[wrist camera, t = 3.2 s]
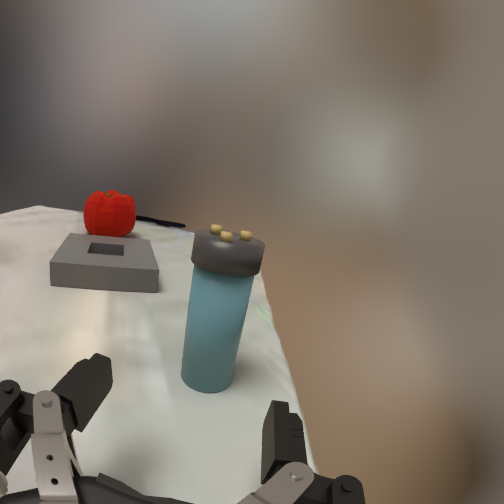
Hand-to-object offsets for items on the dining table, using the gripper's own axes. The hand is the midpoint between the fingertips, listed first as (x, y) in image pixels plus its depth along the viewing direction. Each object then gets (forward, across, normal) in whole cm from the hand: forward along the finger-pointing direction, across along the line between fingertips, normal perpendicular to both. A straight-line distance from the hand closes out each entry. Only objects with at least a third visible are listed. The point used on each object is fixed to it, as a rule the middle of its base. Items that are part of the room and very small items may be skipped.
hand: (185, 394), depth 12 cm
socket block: (+29, +21, +8) cm, 36 cm away
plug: (+10, 0, +8) cm, 13 cm away
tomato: (+48, +32, +8) cm, 58 cm away
